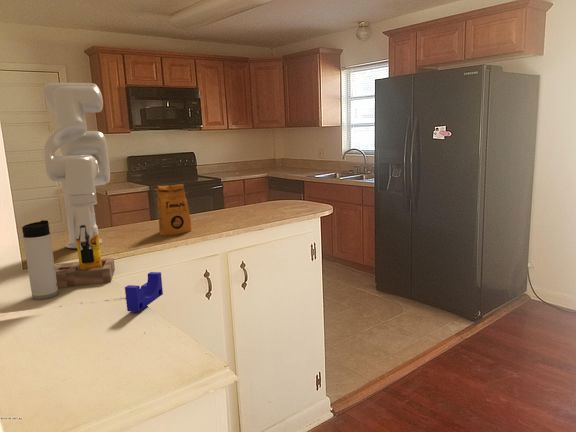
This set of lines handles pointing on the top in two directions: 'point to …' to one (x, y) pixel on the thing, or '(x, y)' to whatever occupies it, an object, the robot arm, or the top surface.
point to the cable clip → (144, 292)
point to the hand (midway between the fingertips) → (90, 259)
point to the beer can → (96, 252)
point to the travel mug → (40, 260)
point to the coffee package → (173, 210)
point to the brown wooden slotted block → (83, 274)
